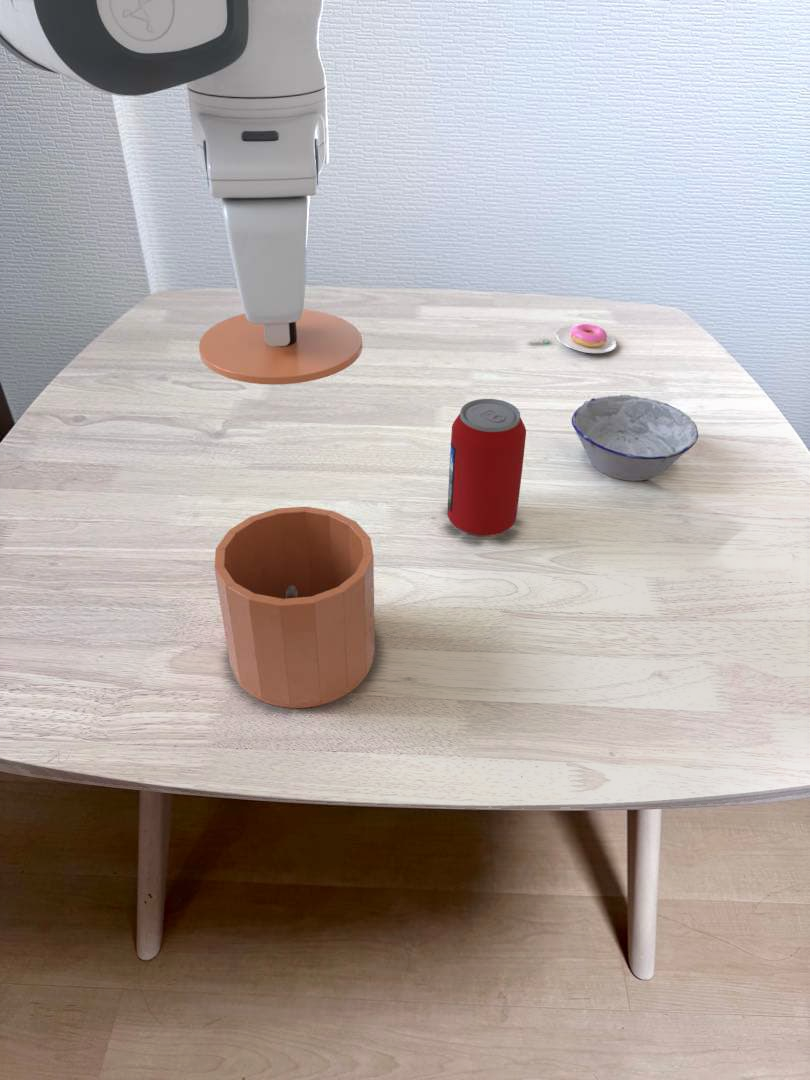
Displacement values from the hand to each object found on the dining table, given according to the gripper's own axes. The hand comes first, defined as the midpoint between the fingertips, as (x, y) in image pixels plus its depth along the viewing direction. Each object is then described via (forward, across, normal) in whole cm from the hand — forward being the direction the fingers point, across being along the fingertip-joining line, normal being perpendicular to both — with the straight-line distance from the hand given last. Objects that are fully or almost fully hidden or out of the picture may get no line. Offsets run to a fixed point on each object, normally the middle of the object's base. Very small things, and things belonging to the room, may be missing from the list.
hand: (277, 332), depth 64 cm
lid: (+1, 0, 0) cm, 1 cm away
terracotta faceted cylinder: (+22, +12, 0) cm, 25 cm away
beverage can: (+22, -4, +18) cm, 29 cm away
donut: (+22, -42, +39) cm, 61 cm away
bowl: (+22, -13, +36) cm, 44 cm away
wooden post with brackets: (+22, +13, -1) cm, 25 cm away
